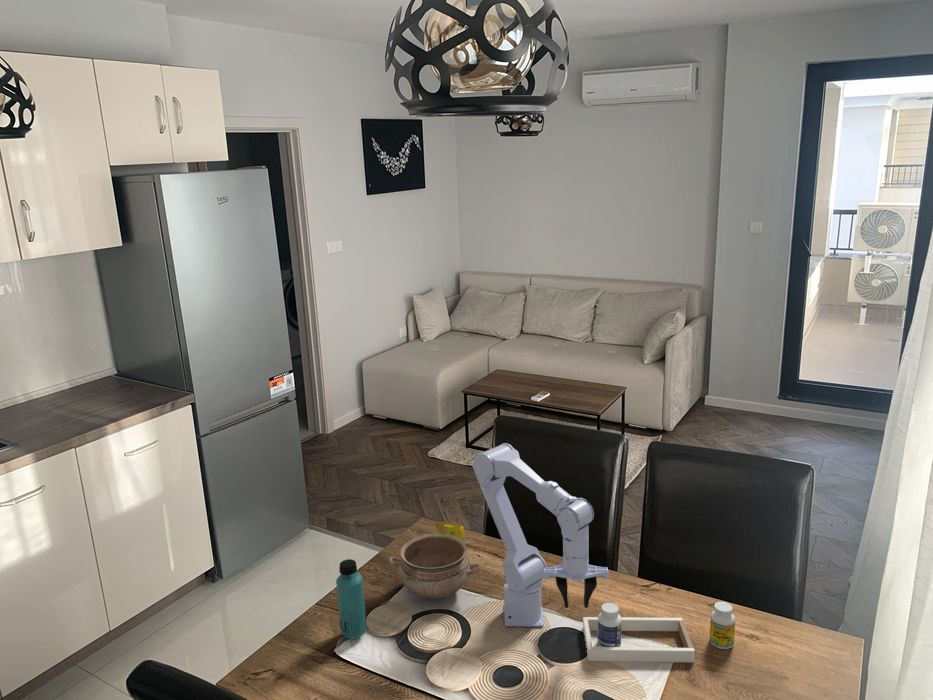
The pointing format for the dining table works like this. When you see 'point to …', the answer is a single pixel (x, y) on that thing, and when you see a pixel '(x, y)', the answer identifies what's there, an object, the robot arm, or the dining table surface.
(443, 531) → the crayon box
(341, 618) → the beverage bottle
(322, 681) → the dining table surface
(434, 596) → the cooking pot
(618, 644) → the pill bottle
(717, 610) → the supplement bottle
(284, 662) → the dining table surface
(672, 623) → the corral
